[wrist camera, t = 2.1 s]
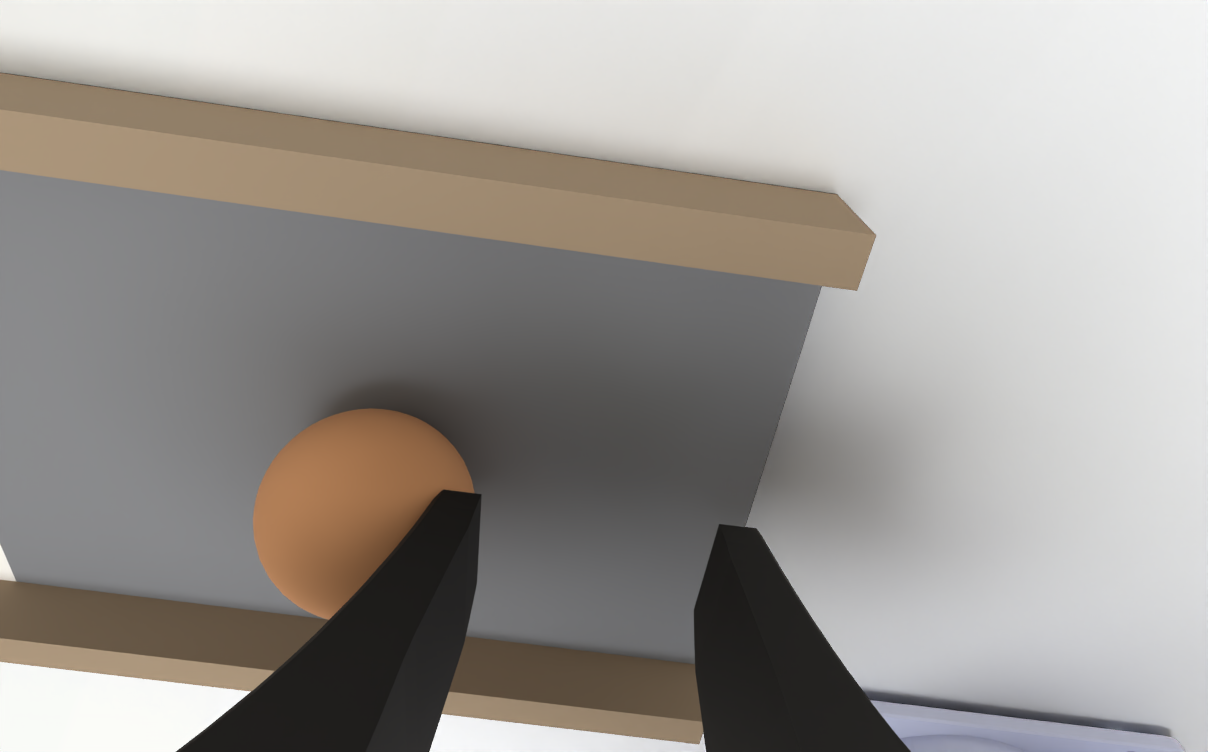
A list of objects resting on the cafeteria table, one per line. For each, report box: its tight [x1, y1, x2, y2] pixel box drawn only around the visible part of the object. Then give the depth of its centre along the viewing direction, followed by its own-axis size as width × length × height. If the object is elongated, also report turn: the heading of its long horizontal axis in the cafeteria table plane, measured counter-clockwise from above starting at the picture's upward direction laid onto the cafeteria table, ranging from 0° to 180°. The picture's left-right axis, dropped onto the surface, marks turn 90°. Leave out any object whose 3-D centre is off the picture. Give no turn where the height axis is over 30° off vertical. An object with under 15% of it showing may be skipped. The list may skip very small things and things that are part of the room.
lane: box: [0, 73, 876, 744], centre depth 12 cm, size 27×12×2 cm, turn 82°
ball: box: [253, 408, 474, 620], centre depth 11 cm, size 4×4×4 cm
